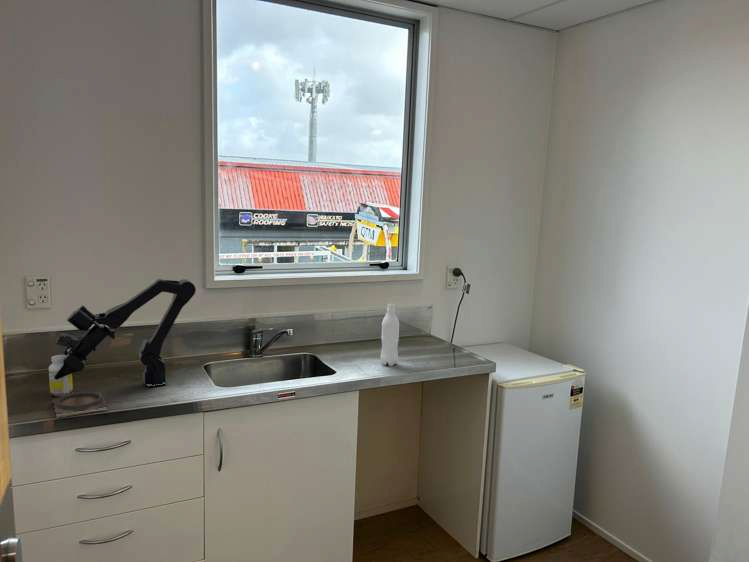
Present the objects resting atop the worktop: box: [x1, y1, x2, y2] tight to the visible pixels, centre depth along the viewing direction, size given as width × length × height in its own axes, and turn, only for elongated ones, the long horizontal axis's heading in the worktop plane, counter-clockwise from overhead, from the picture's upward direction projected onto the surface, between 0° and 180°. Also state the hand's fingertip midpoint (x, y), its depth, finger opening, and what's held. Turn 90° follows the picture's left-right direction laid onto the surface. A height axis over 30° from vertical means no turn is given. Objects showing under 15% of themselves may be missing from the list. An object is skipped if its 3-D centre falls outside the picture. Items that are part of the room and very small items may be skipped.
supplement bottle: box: [48, 354, 74, 394], centre depth 191 cm, size 7×7×13 cm
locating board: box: [52, 391, 109, 414], centre depth 182 cm, size 14×14×3 cm
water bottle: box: [380, 302, 400, 367], centre depth 237 cm, size 7×7×25 cm
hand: (55, 375), depth 191 cm, fingers closed on supplement bottle, 7 cm apart
